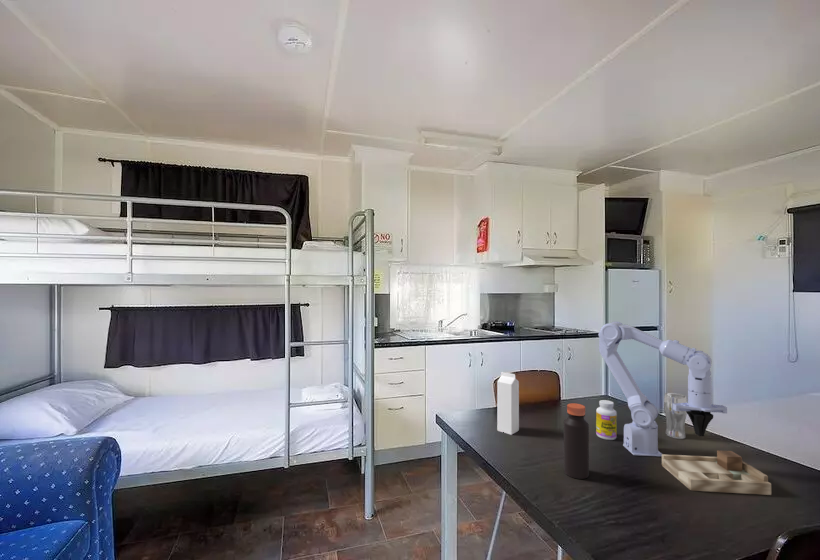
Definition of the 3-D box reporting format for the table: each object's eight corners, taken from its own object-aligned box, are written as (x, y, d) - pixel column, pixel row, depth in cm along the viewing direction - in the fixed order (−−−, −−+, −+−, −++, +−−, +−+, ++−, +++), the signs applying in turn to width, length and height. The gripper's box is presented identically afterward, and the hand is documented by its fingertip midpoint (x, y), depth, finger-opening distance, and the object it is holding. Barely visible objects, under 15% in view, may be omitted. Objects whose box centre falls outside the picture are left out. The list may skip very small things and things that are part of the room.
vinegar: (574, 481, 107) (574, 410, 107) (558, 469, 113) (558, 403, 114) (594, 477, 109) (594, 408, 109) (577, 466, 115) (577, 401, 115)
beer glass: (687, 441, 134) (686, 399, 134) (663, 436, 138) (663, 395, 138) (687, 435, 140) (687, 394, 140) (664, 430, 144) (664, 391, 144)
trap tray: (690, 490, 102) (690, 473, 102) (661, 465, 116) (661, 451, 116) (771, 494, 100) (771, 477, 100) (731, 469, 114) (731, 454, 114)
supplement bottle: (598, 439, 135) (598, 403, 135) (594, 432, 142) (594, 398, 142) (619, 441, 134) (619, 405, 134) (613, 434, 140) (613, 399, 140)
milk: (511, 435, 139) (511, 375, 139) (497, 430, 143) (496, 373, 143) (519, 430, 144) (519, 372, 144) (504, 426, 148) (504, 370, 148)
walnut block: (727, 470, 108) (727, 456, 108) (717, 463, 112) (717, 450, 112) (742, 471, 108) (742, 457, 108) (731, 464, 112) (731, 451, 112)
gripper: (681, 393, 113) (682, 439, 113) (734, 395, 112) (734, 441, 111) (668, 387, 120) (668, 429, 120) (717, 389, 119) (718, 432, 118)
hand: (699, 435), depth 116 cm, fingers closed
